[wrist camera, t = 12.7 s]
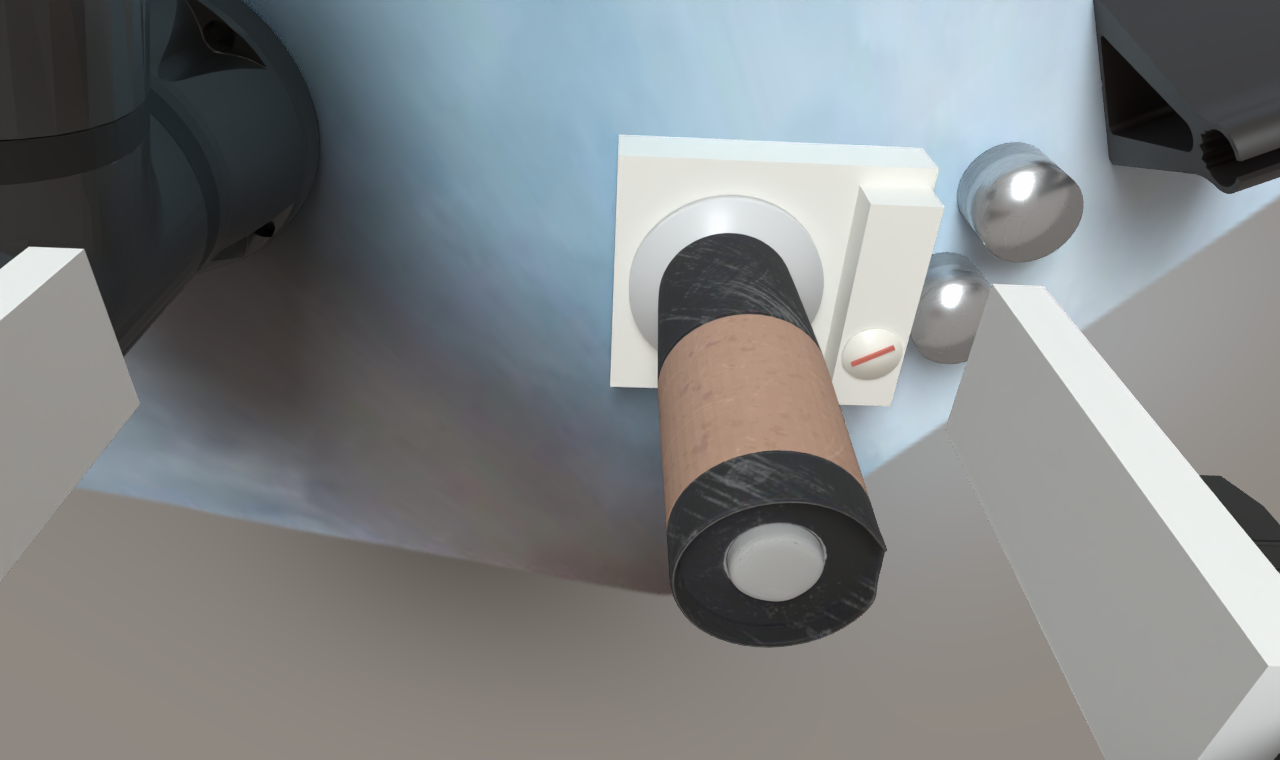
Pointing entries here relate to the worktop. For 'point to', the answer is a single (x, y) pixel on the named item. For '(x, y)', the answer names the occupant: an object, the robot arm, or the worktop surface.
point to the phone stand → (1193, 87)
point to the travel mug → (756, 455)
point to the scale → (782, 242)
